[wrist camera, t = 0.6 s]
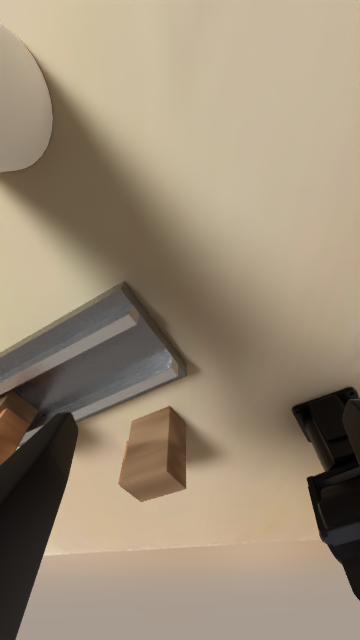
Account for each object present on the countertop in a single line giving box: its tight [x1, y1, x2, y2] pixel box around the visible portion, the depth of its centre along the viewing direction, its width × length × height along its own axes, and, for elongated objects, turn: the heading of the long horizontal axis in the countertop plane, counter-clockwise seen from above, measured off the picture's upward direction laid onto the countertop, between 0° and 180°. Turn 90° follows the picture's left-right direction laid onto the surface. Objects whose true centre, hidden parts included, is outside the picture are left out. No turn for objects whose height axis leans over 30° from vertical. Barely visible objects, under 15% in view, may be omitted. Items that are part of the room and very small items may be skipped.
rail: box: [0, 282, 186, 447], centre depth 25 cm, size 10×22×3 cm, turn 120°
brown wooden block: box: [119, 406, 186, 502], centre depth 27 cm, size 3×6×7 cm, turn 120°
